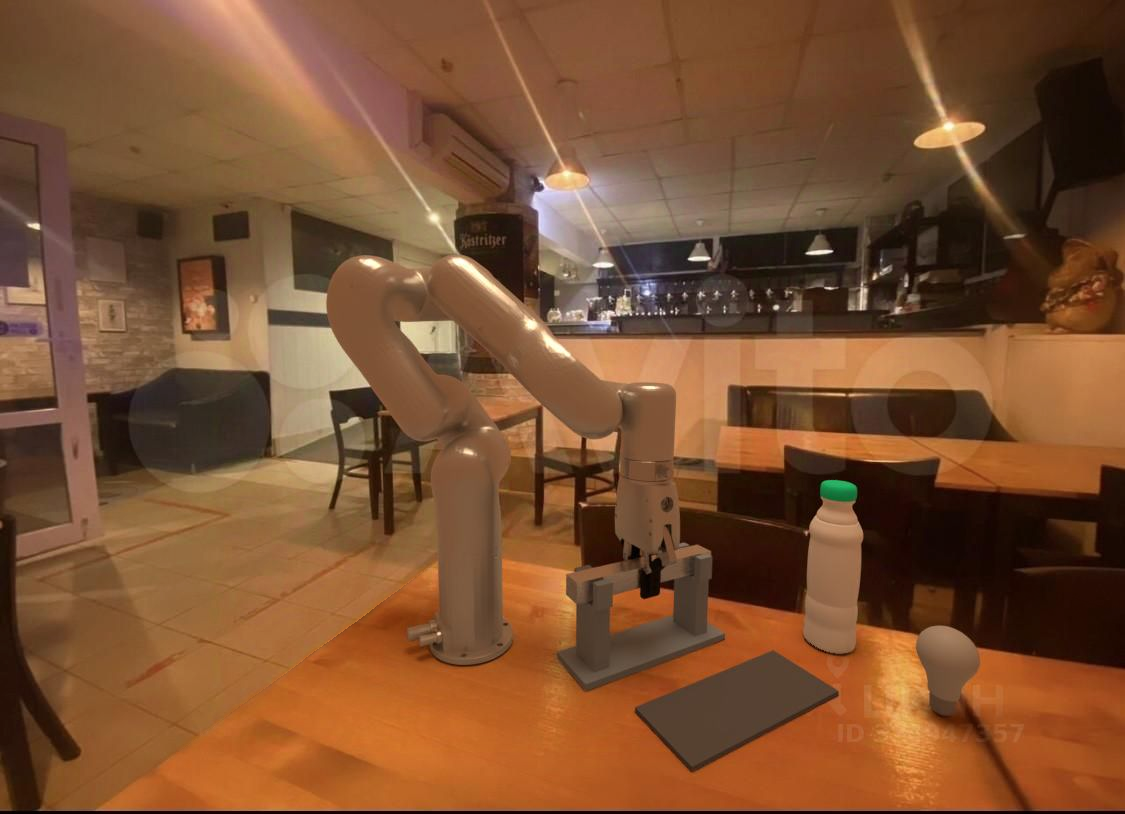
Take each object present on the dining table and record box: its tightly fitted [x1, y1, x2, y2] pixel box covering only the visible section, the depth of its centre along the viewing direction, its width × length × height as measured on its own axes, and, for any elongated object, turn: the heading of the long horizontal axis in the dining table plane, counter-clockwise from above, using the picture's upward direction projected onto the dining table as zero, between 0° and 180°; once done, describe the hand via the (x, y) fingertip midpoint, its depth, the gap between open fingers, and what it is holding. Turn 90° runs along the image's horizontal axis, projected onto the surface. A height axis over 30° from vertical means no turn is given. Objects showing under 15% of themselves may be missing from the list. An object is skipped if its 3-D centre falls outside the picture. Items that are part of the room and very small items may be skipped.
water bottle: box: [802, 479, 864, 655], centre depth 74 cm, size 7×7×25 cm
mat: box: [634, 649, 840, 773], centre depth 62 cm, size 25×10×1 cm, turn 118°
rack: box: [556, 542, 726, 692], centre depth 73 cm, size 25×8×14 cm, turn 118°
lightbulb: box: [915, 625, 981, 717], centre depth 60 cm, size 6×6×11 cm
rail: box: [565, 544, 712, 605], centre depth 73 cm, size 24×3×3 cm, turn 118°
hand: (642, 589), depth 73 cm, fingers closed on rail, 3 cm apart
